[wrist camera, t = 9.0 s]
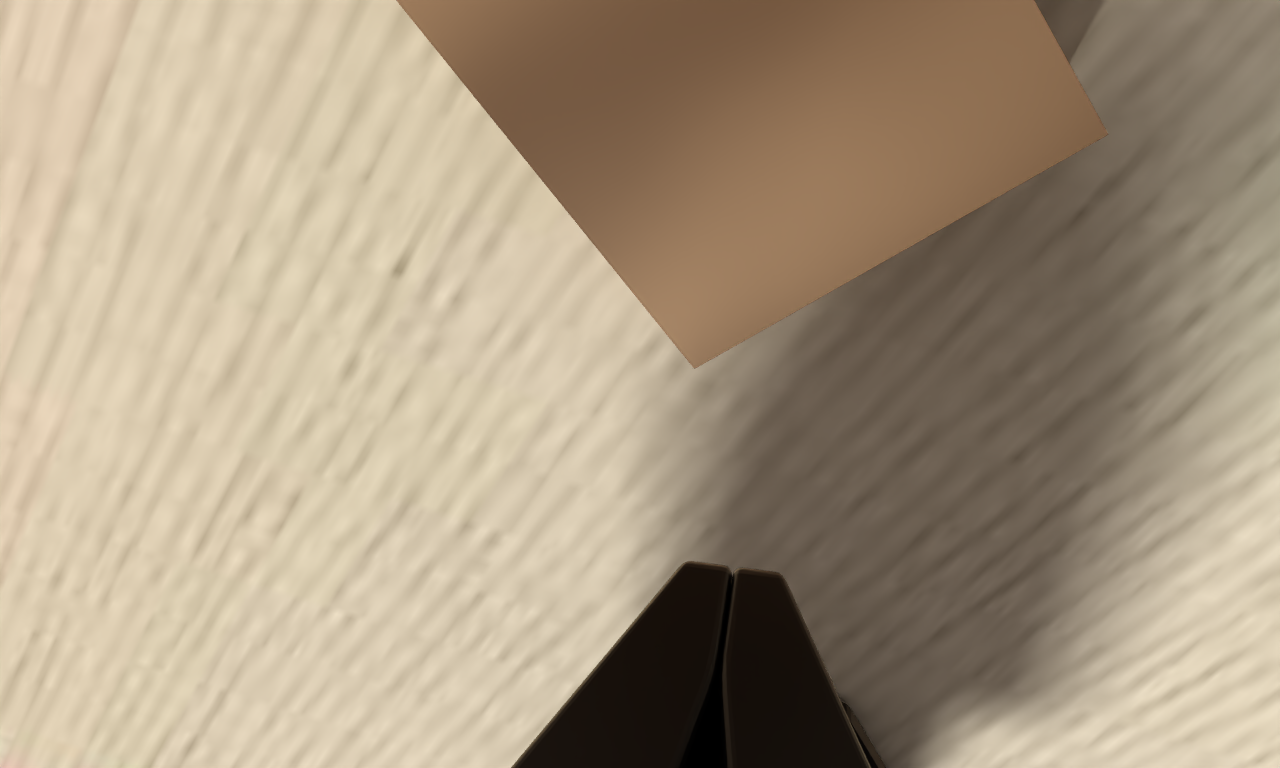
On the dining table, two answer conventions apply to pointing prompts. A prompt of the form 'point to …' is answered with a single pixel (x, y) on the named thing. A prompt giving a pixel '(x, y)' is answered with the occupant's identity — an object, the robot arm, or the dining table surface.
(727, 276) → the slab
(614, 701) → the robot arm
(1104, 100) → the dining table surface
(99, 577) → the dining table surface
